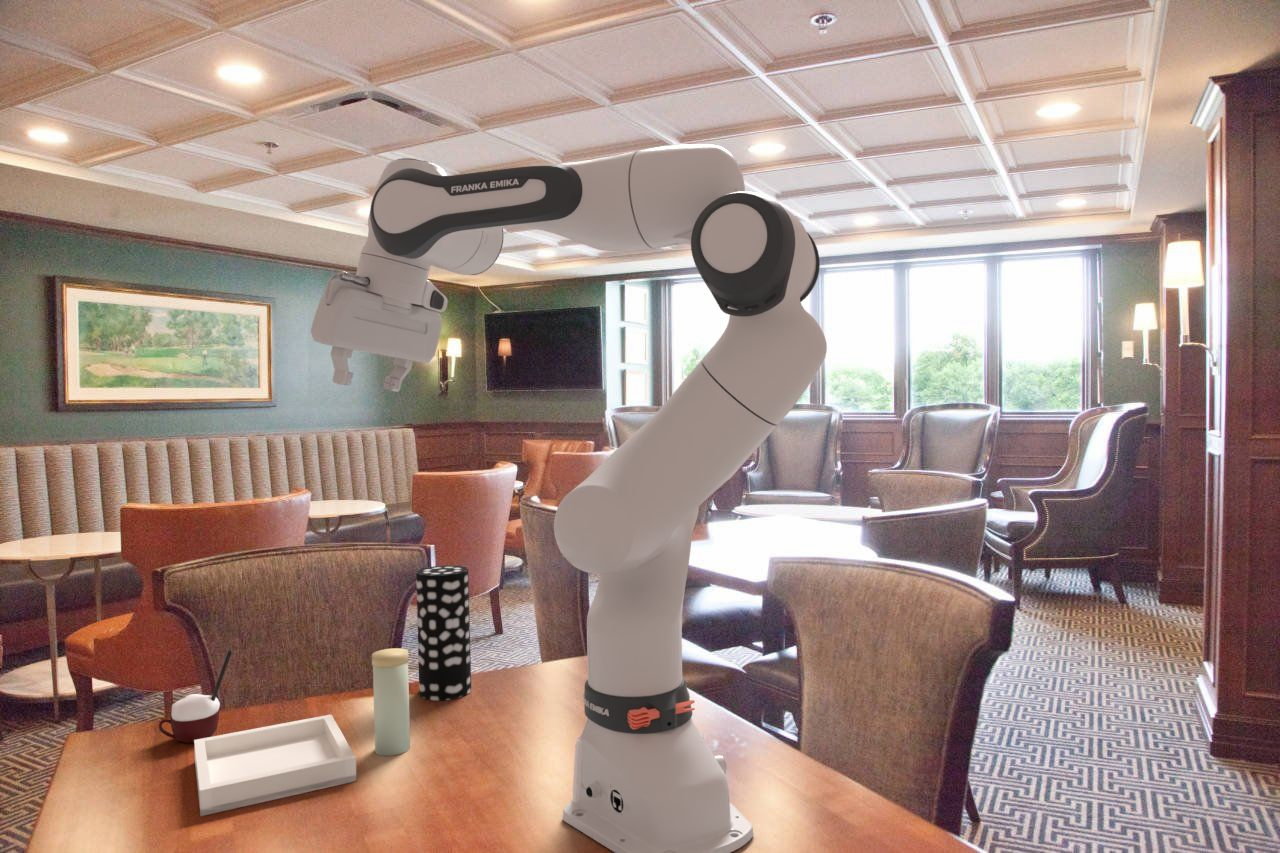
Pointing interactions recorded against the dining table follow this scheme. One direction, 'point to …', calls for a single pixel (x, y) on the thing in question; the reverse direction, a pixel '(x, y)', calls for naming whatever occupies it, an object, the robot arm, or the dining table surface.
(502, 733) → the dining table surface
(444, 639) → the spotted tube
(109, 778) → the dining table surface
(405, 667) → the tea tin
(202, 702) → the cocoa
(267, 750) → the dish
